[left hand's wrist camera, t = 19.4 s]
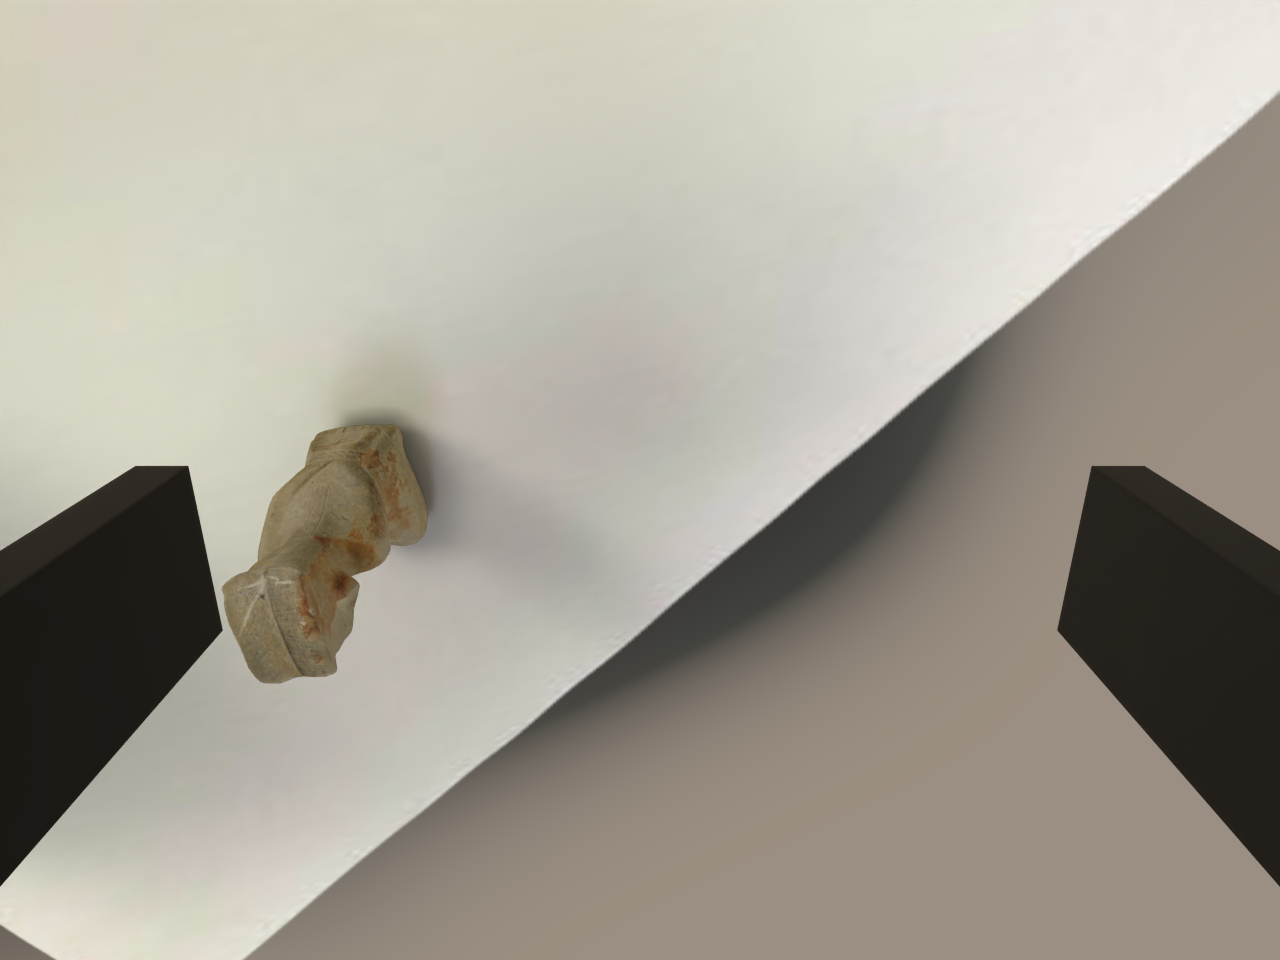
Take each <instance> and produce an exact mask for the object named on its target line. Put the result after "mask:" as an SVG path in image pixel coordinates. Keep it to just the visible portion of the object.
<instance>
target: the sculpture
mask: <svg viewBox="0 0 1280 960" xmlns="http://www.w3.org/2000/svg"><path fill="white" fill-rule="evenodd" d="M426 527H427V509H426V504H425V500H424V497H423V495H422V492H421V489H420V487H419V484H418V482H417V480H416V477H415V475H414V472H413V470H412V468H411V467H410V464H409V462H408V459H407V457H406V454H405V451H404V447H403V436H402V434H401V432H400V430H399V429H398V427H397V426H395V425H359V426H349V427H340V428H335V429H330V430H326V431H323V432H320V433H318V434H317V435H316V437H315V439H314V440H313V441H312V442H311V445H310V448H309V451H308V455H307V459H306V465H305V468H304V469H302V470H301V471H300V472H298V473H297V474H296V475H295V476H294V477H293V478H292V479H291V480H290V481H288V482H287V483H286V484H285V485H284V486H283V487H282V488H281V489H280V490H279V491H278V492H277V493H276V494H275V495H274V497H273V498H272V500H271V503H270V505H269V508H268V512H267V516H266V519H265V523H264V527H263V531H262V535H261V540H260V545H259V550H258V562H257V563H255V564H254V565H253V566H252V567H251V568H250V570H249V571H248V572H245V573H241V574H239V575H237V576H235V577H233V578H231V579H230V580H229V581H227V582H226V583H225V584H224V585H223V587H222V591H223V594H224V606H225V611H226V615H227V619H228V622H229V625H230V627H231V630H232V632H233V634H234V636H235V638H236V640H237V642H238V644H239V646H240V648H241V650H242V653H243V655H244V658H245V660H246V663H247V665H248V668H249V669H250V671H251V672H252V673H253V675H254V676H255V677H256V678H257V679H258V680H259V681H260V682H262V683H283V682H285V681H288V680H291V679H293V678H296V677H303V676H304V677H325V676H329V675H331V674H334V673H335V672H336V671H337V664H336V658H335V654H336V653H337V652H338V650H339V649H340V647H341V645H342V644H343V642H344V640H345V639H346V638H347V637H348V635H349V634H350V633H351V631H352V627H353V613H354V606H355V603H356V599H357V595H358V591H359V583H358V582H357V581H356V580H355V579H354V578H352V577H351V576H353V575H356V574H358V573H362V572H365V571H368V570H371V569H373V568H375V567H377V566H379V565H380V564H381V563H383V562H384V560H385V559H386V557H387V556H388V554H389V552H390V546H391V545H399V546H404V545H410V544H413V543H415V542H417V541H418V540H419V539H420V538H421V537H422V536H423V535H424V533H425V531H426Z"/></svg>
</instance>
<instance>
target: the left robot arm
mask: <svg viewBox="0 0 1280 960" xmlns="http://www.w3.org/2000/svg"><path fill="white" fill-rule="evenodd" d="M1057 630H1058V632H1059V633H1060V634H1061V635H1062V636H1063V637H1064V639H1065V640H1066V641H1067V642H1068V643H1069V644H1070V645H1071V647H1072V648H1073V649H1074V650H1075V651H1076V652H1077V653H1078V655H1079V656H1080V657H1081V658H1082V659H1083V660H1084V662H1085V663H1086V664H1087V665H1088V666H1089V667H1090V669H1091V670H1092V671H1093V672H1094V673H1095V674H1096V675H1097V677H1098V678H1099V679H1100V680H1101V681H1102V682H1103V683H1104V685H1105V686H1106V687H1107V688H1108V689H1109V690H1110V692H1111V693H1112V694H1113V695H1114V696H1115V697H1116V698H1117V700H1118V701H1119V702H1120V703H1121V704H1122V705H1123V707H1124V708H1125V709H1126V710H1127V711H1128V712H1129V713H1130V715H1131V716H1132V717H1133V718H1134V719H1135V720H1136V721H1137V723H1138V724H1139V725H1140V726H1141V727H1142V728H1143V730H1144V731H1145V732H1146V733H1147V734H1148V735H1149V736H1150V738H1151V739H1152V740H1153V741H1154V742H1155V743H1156V745H1157V746H1158V747H1159V748H1160V749H1161V750H1162V751H1163V753H1164V754H1165V755H1166V756H1167V757H1168V758H1169V760H1170V761H1171V762H1172V763H1173V764H1174V765H1175V766H1176V768H1177V769H1178V770H1179V771H1180V772H1181V773H1182V774H1183V776H1184V777H1185V778H1186V779H1187V780H1188V781H1189V783H1190V784H1191V785H1192V786H1193V787H1194V788H1195V789H1196V791H1197V792H1198V793H1199V794H1200V795H1201V796H1202V798H1203V799H1204V800H1205V801H1206V802H1207V803H1208V804H1209V806H1210V807H1211V808H1212V809H1213V810H1214V811H1215V813H1216V814H1217V815H1218V816H1219V817H1220V818H1221V819H1222V821H1223V822H1224V823H1225V824H1226V825H1227V826H1228V827H1229V829H1230V830H1231V831H1232V832H1233V833H1234V834H1235V836H1236V837H1237V838H1238V839H1239V840H1240V841H1241V842H1242V844H1243V845H1244V846H1245V847H1246V848H1247V849H1248V851H1249V852H1250V853H1251V854H1252V855H1253V856H1254V857H1255V858H1256V860H1257V861H1258V862H1259V863H1260V864H1261V865H1262V867H1263V868H1264V869H1265V870H1266V871H1267V872H1268V874H1269V875H1270V876H1271V877H1272V878H1273V879H1274V880H1275V882H1276V883H1277V884H1278V885H1279V886H1280V551H1279V550H1277V549H1276V548H1274V547H1273V546H1271V545H1269V544H1268V543H1266V542H1265V541H1263V540H1261V539H1260V538H1258V537H1257V536H1255V535H1254V534H1252V533H1250V532H1249V531H1247V530H1246V529H1244V528H1242V527H1241V526H1239V525H1238V524H1236V523H1234V522H1233V521H1231V520H1230V519H1228V518H1226V517H1225V516H1223V515H1222V514H1220V513H1218V512H1217V511H1215V510H1214V509H1212V508H1211V507H1209V506H1207V505H1206V504H1204V503H1203V502H1201V501H1199V500H1198V499H1196V498H1195V497H1193V496H1191V495H1190V494H1188V493H1187V492H1185V491H1183V490H1182V489H1180V488H1179V487H1177V486H1175V485H1174V484H1172V483H1171V482H1169V481H1167V480H1166V479H1164V478H1163V477H1161V476H1159V475H1158V474H1156V473H1155V472H1153V471H1151V470H1150V469H1148V468H1147V467H1145V466H1092V467H1091V472H1090V477H1089V482H1088V487H1087V491H1086V496H1085V501H1084V505H1083V510H1082V515H1081V520H1080V525H1079V529H1078V534H1077V539H1076V544H1075V548H1074V553H1073V558H1072V563H1071V567H1070V572H1069V577H1068V582H1067V587H1066V591H1065V596H1064V601H1063V606H1062V610H1061V615H1060V620H1059V625H1058V629H1057ZM222 631H223V629H222V625H221V620H220V615H219V610H218V606H217V601H216V596H215V591H214V587H213V582H212V577H211V572H210V567H209V563H208V558H207V553H206V548H205V544H204V539H203V534H202V529H201V525H200V520H199V515H198V510H197V505H196V501H195V496H194V491H193V486H192V482H191V477H190V472H189V467H188V466H135V467H133V468H132V469H130V470H128V471H127V472H125V473H124V474H122V475H120V476H119V477H117V478H116V479H114V480H113V481H111V482H109V483H108V484H106V485H105V486H103V487H101V488H100V489H98V490H97V491H95V492H93V493H92V494H90V495H89V496H87V497H85V498H84V499H82V500H81V501H79V502H77V503H76V504H74V505H73V506H71V507H69V508H68V509H66V510H65V511H63V512H61V513H60V514H58V515H57V516H55V517H54V518H52V519H50V520H49V521H47V522H46V523H44V524H42V525H41V526H39V527H38V528H36V529H34V530H33V531H31V532H30V533H28V534H26V535H25V536H23V537H22V538H20V539H18V540H17V541H15V542H14V543H12V544H10V545H9V546H7V547H6V548H4V549H3V550H1V551H0V886H1V885H2V884H3V883H4V882H5V880H6V879H7V878H8V877H9V876H10V875H11V874H12V872H13V871H14V870H15V869H16V868H17V867H18V865H19V864H20V863H21V862H22V861H23V860H24V859H25V857H26V856H27V855H28V854H29V853H30V852H31V851H32V849H33V848H34V847H35V846H36V845H37V844H38V842H39V841H40V840H41V839H42V838H43V837H44V836H45V834H46V833H47V832H48V831H49V830H50V829H51V827H52V826H53V825H54V824H55V823H56V822H57V821H58V819H59V818H60V817H61V816H62V815H63V814H64V813H65V811H66V810H67V809H68V808H69V807H70V806H71V804H72V803H73V802H74V801H75V800H76V799H77V798H78V796H79V795H80V794H81V793H82V792H83V791H84V789H85V788H86V787H87V786H88V785H89V784H90V783H91V781H92V780H93V779H94V778H95V777H96V776H97V774H98V773H99V772H100V771H101V770H102V769H103V768H104V766H105V765H106V764H107V763H108V762H109V761H110V760H111V758H112V757H113V756H114V755H115V754H116V753H117V751H118V750H119V749H120V748H121V747H122V746H123V745H124V743H125V742H126V741H127V740H128V739H129V738H130V736H131V735H132V734H133V733H134V732H135V731H136V730H137V728H138V727H139V726H140V725H141V724H142V723H143V722H144V720H145V719H146V718H147V717H148V716H149V715H150V713H151V712H152V711H153V710H154V709H155V708H156V707H157V705H158V704H159V703H160V702H161V701H162V700H163V698H164V697H165V696H166V695H167V694H168V693H169V692H170V690H171V689H172V688H173V687H174V686H175V685H176V684H177V682H178V681H179V680H180V679H181V678H182V677H183V675H184V674H185V673H186V672H187V671H188V670H189V669H190V667H191V666H192V665H193V664H194V663H195V662H196V660H197V659H198V658H199V657H200V656H201V655H202V654H203V652H204V651H205V650H206V649H207V648H208V647H209V645H210V644H211V643H212V642H213V641H214V640H215V639H216V637H217V636H218V635H219V634H220V633H221V632H222Z"/></svg>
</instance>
